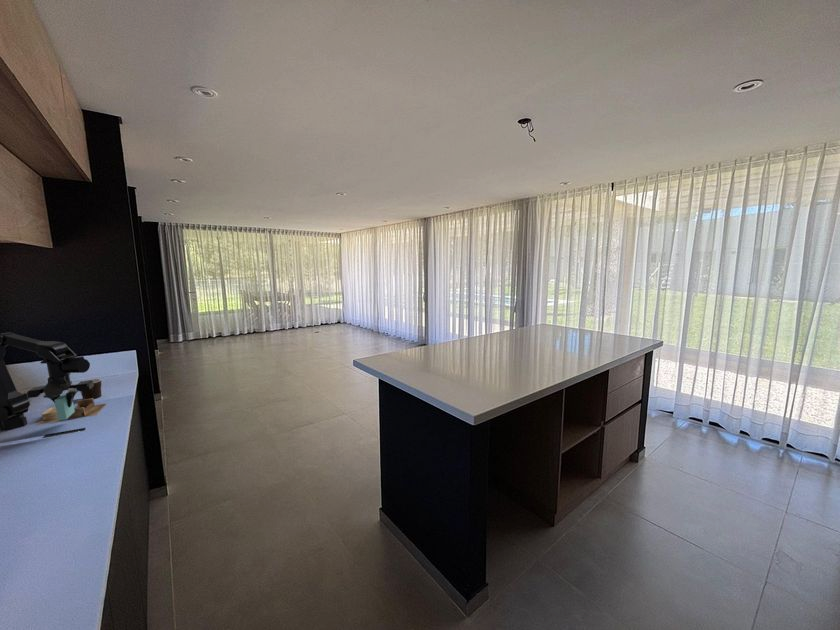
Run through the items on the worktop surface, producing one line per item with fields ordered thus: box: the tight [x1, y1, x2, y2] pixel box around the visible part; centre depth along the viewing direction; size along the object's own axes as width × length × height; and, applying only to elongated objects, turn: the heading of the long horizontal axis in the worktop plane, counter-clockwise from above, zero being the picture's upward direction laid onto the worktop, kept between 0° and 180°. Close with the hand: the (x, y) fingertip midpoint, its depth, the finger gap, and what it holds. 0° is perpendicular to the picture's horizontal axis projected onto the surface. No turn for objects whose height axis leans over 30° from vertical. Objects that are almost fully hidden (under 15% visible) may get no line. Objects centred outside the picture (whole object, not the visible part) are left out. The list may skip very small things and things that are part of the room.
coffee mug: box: [79, 378, 102, 400], centre depth 169 cm, size 12×9×10 cm
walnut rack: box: [34, 398, 108, 426], centre depth 153 cm, size 20×14×6 cm
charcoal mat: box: [42, 427, 86, 439], centre depth 143 cm, size 12×11×1 cm
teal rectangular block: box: [54, 392, 75, 422], centre depth 141 cm, size 2×8×9 cm, turn 28°
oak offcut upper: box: [41, 406, 57, 418], centre depth 150 cm, size 5×7×2 cm
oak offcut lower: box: [42, 415, 58, 421], centre depth 150 cm, size 5×7×2 cm
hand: (65, 407), depth 141 cm, fingers closed on teal rectangular block, 2 cm apart
